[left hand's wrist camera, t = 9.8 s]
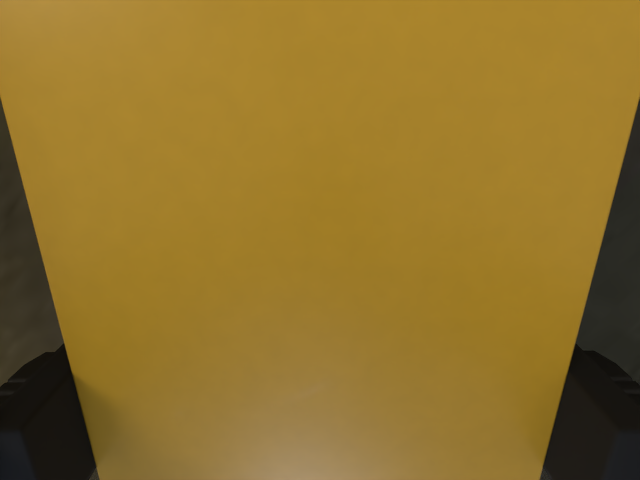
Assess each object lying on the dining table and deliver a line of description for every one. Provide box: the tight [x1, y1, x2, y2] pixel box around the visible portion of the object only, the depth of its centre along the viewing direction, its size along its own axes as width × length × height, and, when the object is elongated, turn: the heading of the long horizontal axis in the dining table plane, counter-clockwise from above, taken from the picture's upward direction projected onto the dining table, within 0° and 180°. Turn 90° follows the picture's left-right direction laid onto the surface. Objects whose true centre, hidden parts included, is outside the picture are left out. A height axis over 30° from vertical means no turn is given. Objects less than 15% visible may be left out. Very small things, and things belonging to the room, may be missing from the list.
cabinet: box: [0, 0, 640, 480], centre depth 12 cm, size 20×10×10 cm, turn 0°
